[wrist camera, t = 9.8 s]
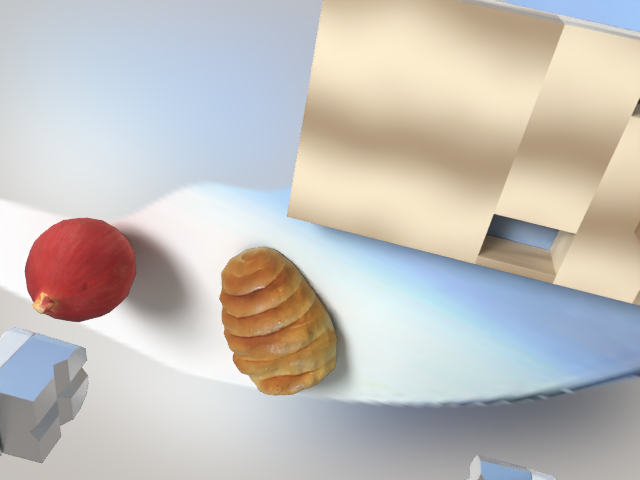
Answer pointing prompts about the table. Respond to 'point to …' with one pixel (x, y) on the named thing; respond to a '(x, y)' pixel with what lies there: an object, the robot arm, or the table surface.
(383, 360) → the table surface
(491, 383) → the table surface
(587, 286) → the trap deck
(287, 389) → the pastry
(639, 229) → the walnut block
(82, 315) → the onion
